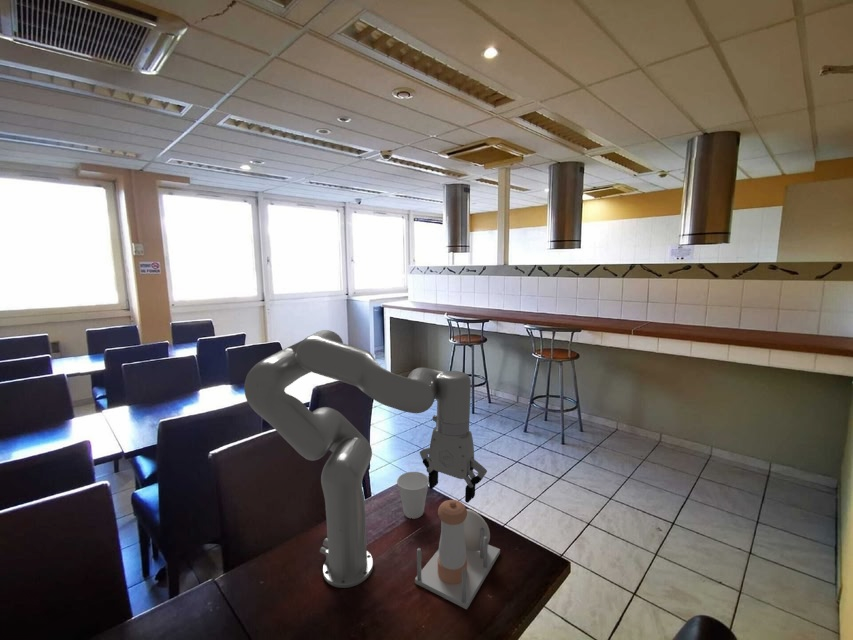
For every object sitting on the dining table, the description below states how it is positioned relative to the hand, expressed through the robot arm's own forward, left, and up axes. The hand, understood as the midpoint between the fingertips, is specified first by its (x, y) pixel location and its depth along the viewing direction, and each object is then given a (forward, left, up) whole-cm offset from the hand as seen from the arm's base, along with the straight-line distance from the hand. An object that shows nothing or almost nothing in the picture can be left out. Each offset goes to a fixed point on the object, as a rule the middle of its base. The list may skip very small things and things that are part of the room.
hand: (451, 492), depth 95 cm
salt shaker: (0, 0, -22) cm, 22 cm away
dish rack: (0, +4, -23) cm, 23 cm away
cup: (-22, +16, -23) cm, 35 cm away
